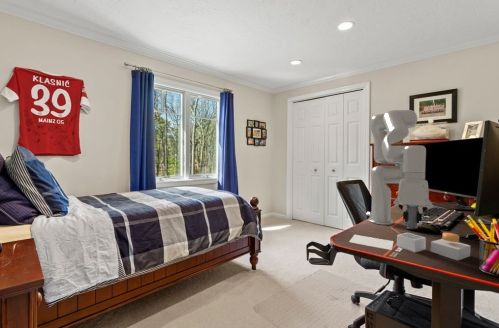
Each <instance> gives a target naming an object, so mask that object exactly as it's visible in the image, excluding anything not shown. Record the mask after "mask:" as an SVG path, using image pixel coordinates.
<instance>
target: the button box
mask: <svg viewBox="0 0 499 328" xmlns="http://www.w3.org/2000/svg"><path fill="white" fill-rule="evenodd" d="M471 246H472V245H469V244H467V243H462V242H460V241H459V242H450V241H446V240H444V239H442V238H440V239H437V240H431V241H430V253H431V252H432V253H434V254H437V255H439V256H443V257H445V258H448V259H451V260H455V261H460V260H463V259H466V258H468V257H471Z"/></svg>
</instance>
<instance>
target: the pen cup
mask: <svg viewBox="0 0 499 328" xmlns="http://www.w3.org/2000/svg"><path fill="white" fill-rule="evenodd" d="M426 241H427V237H424V236H421V235H418V234H414V233H410V232H405V233H401V234H397V235H396V247H397V248H398V249H399V248H400V249H403V250H405V251H408V252H411V253H415V254H416V253H418V252H422V251H425V250H427V249H426V245H427V244H426V243H427V242H426Z"/></svg>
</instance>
